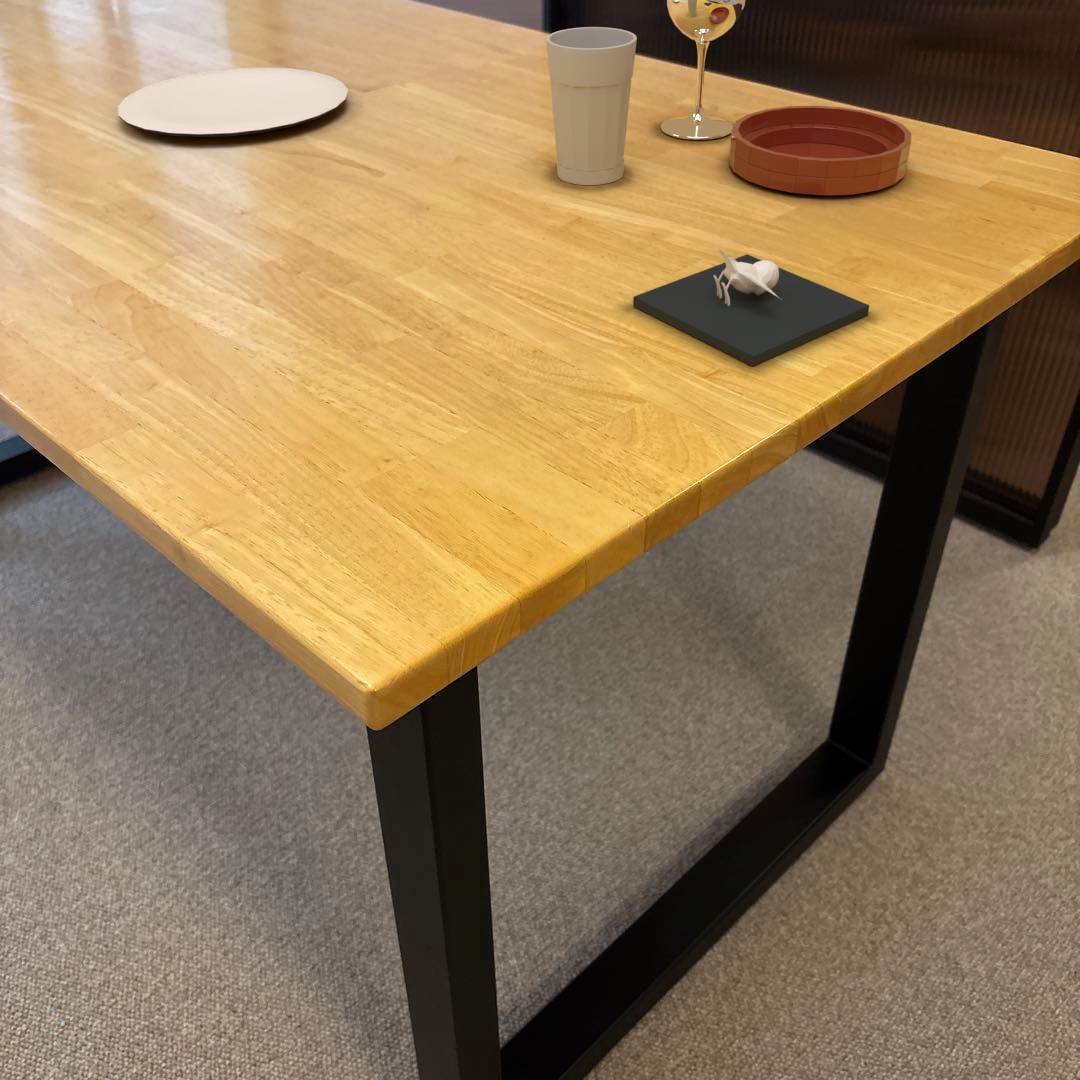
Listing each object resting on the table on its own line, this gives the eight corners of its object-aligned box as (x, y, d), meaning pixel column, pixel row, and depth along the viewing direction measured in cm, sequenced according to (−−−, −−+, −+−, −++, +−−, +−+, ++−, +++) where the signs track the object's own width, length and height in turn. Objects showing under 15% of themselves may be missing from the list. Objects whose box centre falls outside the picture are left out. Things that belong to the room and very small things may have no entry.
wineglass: (715, 145, 108) (734, -82, 96) (646, 134, 112) (655, -88, 100) (746, 124, 114) (767, -95, 101) (679, 114, 117) (691, -99, 105)
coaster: (867, 315, 78) (869, 305, 78) (752, 366, 72) (753, 356, 72) (746, 263, 86) (747, 253, 85) (632, 306, 80) (633, 296, 79)
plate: (107, 157, 109) (103, 140, 108) (132, 89, 128) (128, 74, 127) (356, 137, 113) (354, 120, 112) (343, 74, 132) (342, 59, 131)
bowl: (940, 171, 101) (948, 133, 99) (825, 213, 94) (831, 173, 92) (807, 131, 112) (811, 95, 109) (694, 166, 104) (696, 128, 102)
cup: (531, 172, 103) (527, 37, 96) (593, 153, 107) (594, 22, 100) (587, 194, 98) (588, 54, 91) (649, 173, 102) (655, 37, 95)
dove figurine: (809, 305, 76) (795, 248, 73) (750, 336, 76) (734, 281, 73) (757, 262, 82) (742, 208, 79) (703, 290, 82) (686, 238, 79)
